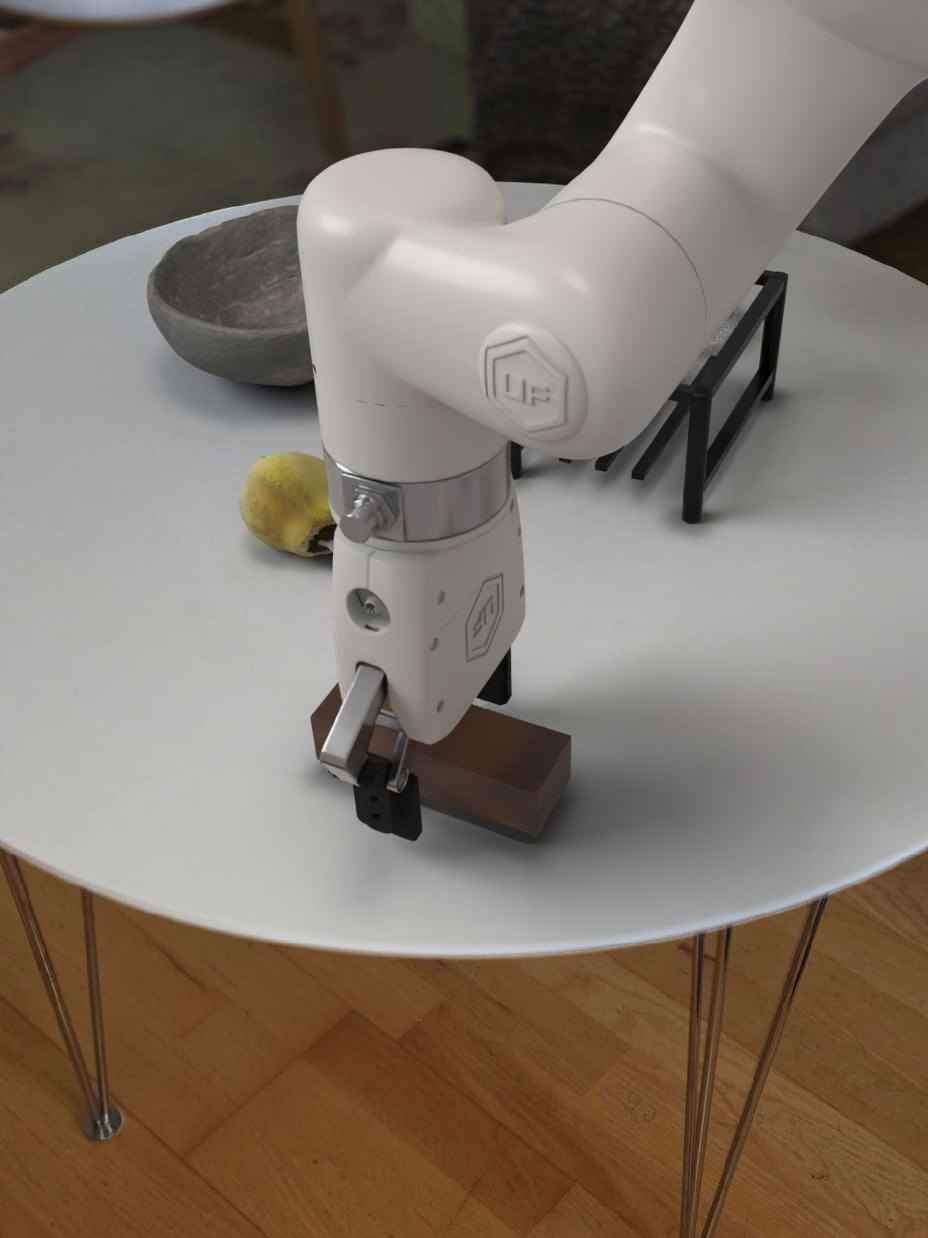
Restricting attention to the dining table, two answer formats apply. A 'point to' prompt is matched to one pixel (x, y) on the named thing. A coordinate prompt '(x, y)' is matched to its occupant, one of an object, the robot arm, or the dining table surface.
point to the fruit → (289, 504)
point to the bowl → (237, 300)
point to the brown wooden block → (478, 767)
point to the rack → (700, 397)
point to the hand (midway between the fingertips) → (437, 757)
